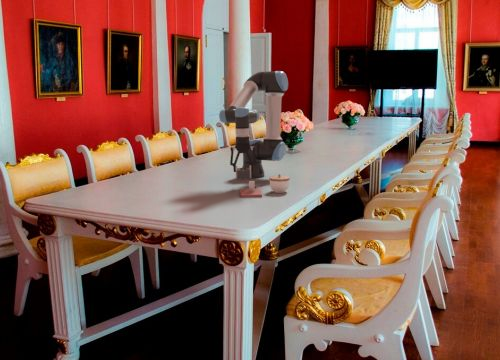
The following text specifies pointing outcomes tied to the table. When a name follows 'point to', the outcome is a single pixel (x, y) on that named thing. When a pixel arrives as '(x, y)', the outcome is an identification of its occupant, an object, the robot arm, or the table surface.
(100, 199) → the table surface
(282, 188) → the lidded jar
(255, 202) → the table surface
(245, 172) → the hollow frame block
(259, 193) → the plate
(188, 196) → the table surface
